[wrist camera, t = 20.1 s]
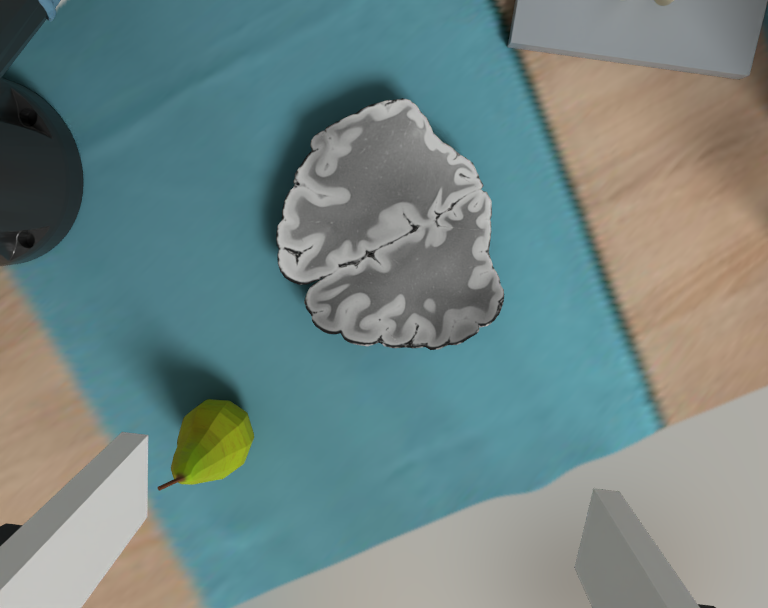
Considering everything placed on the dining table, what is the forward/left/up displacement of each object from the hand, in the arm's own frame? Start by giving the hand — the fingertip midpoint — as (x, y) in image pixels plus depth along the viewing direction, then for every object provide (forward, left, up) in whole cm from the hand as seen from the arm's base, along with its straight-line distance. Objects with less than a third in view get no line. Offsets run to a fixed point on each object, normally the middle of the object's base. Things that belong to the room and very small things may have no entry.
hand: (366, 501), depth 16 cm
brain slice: (-1, +6, -31) cm, 31 cm away
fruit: (-13, -12, -30) cm, 35 cm away
